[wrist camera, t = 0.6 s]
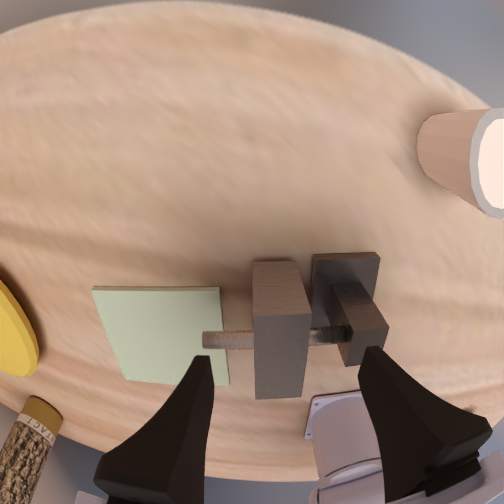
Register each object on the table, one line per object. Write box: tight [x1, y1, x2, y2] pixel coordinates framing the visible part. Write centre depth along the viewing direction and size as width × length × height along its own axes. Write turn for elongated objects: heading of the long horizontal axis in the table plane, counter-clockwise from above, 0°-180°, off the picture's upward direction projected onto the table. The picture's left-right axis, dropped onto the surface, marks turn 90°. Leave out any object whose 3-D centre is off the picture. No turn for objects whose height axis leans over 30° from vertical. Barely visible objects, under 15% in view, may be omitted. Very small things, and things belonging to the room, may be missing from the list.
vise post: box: [202, 252, 389, 367], centre depth 19 cm, size 7×13×7 cm, turn 91°
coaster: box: [91, 287, 230, 386], centre depth 24 cm, size 11×11×1 cm
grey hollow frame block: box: [252, 261, 312, 399], centre depth 19 cm, size 7×3×6 cm, turn 1°
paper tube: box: [0, 397, 62, 504], centre depth 20 cm, size 7×7×25 cm
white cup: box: [416, 108, 504, 219], centre depth 14 cm, size 7×7×7 cm
